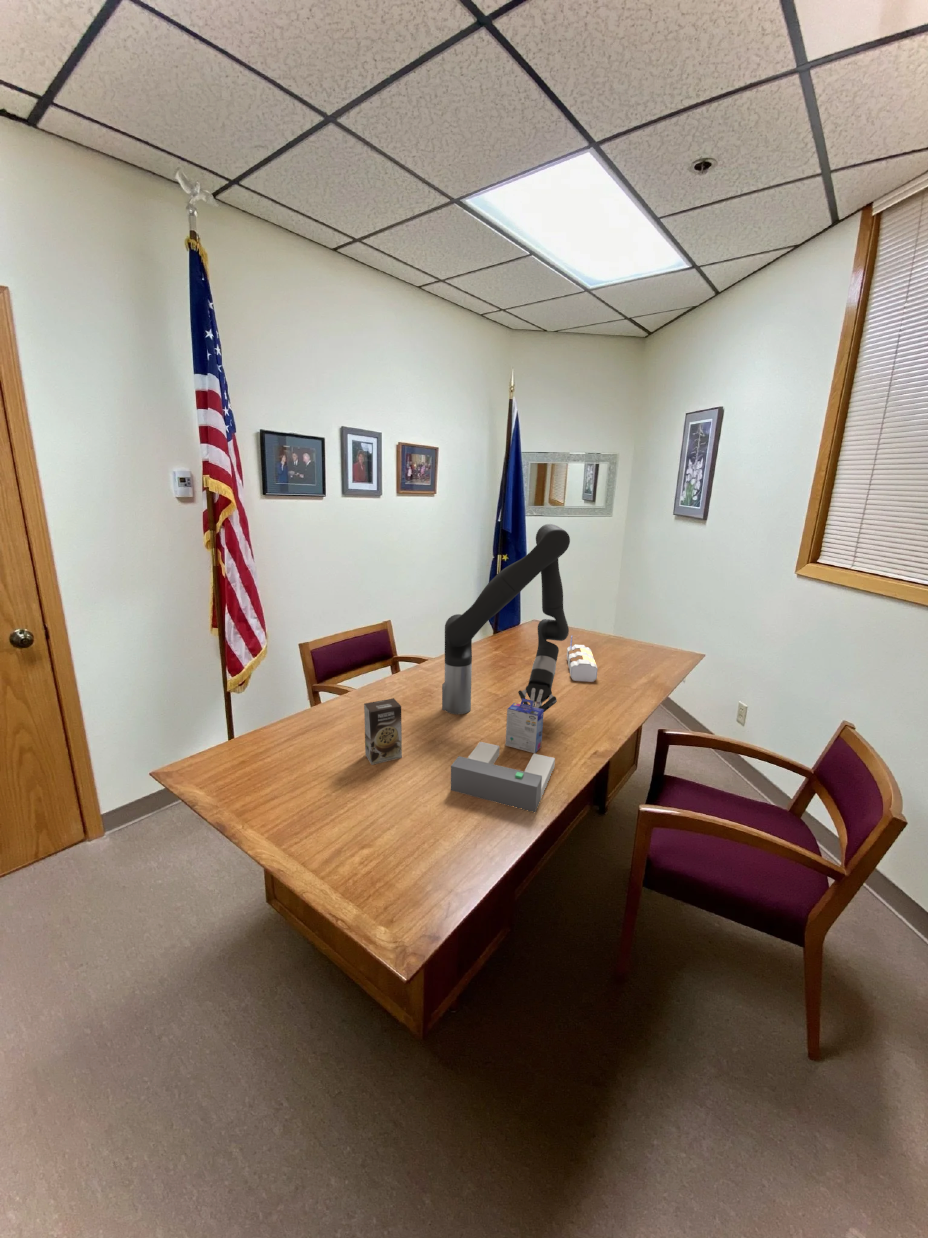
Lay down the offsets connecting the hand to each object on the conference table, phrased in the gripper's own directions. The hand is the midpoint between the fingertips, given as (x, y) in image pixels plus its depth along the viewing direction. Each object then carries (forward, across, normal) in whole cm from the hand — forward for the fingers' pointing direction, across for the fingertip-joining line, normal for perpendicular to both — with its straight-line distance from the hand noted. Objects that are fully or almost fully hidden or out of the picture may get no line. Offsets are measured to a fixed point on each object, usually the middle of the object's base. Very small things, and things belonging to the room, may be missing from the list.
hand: (531, 722), depth 151 cm
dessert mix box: (+24, -35, -18) cm, 46 cm away
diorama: (-42, +5, +48) cm, 64 cm away
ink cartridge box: (+9, 0, -3) cm, 9 cm away
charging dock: (+22, 0, -16) cm, 27 cm away
